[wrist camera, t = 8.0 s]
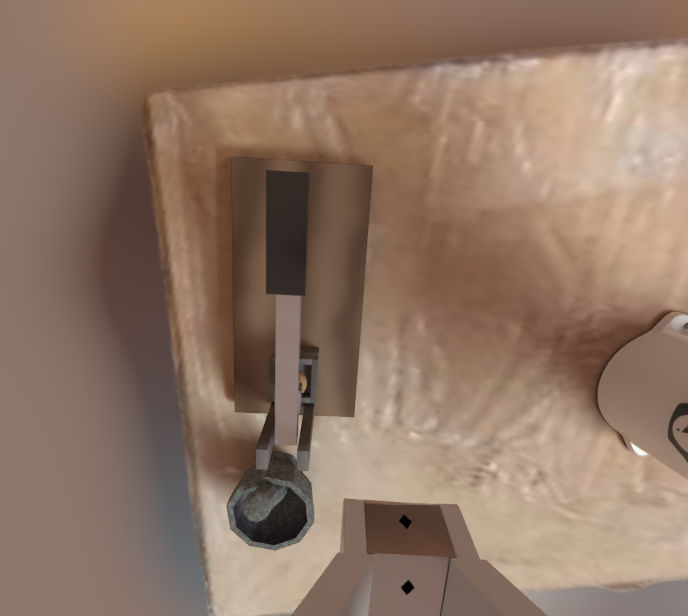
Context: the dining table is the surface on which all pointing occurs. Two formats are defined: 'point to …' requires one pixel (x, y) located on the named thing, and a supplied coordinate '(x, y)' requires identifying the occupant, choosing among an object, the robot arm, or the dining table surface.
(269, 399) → the press base
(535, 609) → the robot arm
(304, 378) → the nut
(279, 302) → the lever
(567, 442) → the dining table surface
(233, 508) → the mortar and pestle
